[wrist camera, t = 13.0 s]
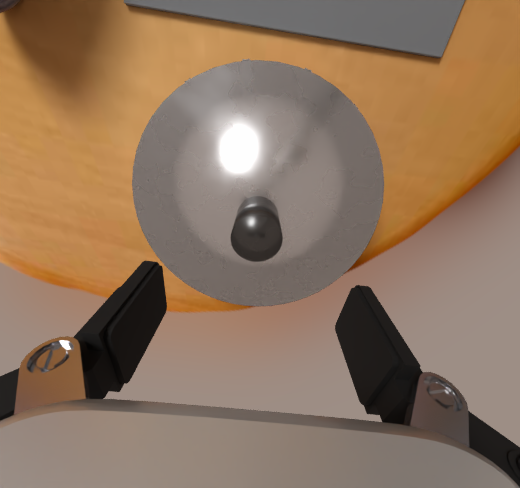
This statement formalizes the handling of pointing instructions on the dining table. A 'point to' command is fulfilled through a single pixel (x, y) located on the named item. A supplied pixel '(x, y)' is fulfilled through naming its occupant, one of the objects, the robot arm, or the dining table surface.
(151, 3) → the rubber mat
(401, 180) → the dining table surface
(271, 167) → the lidded metal pot
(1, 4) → the tin
